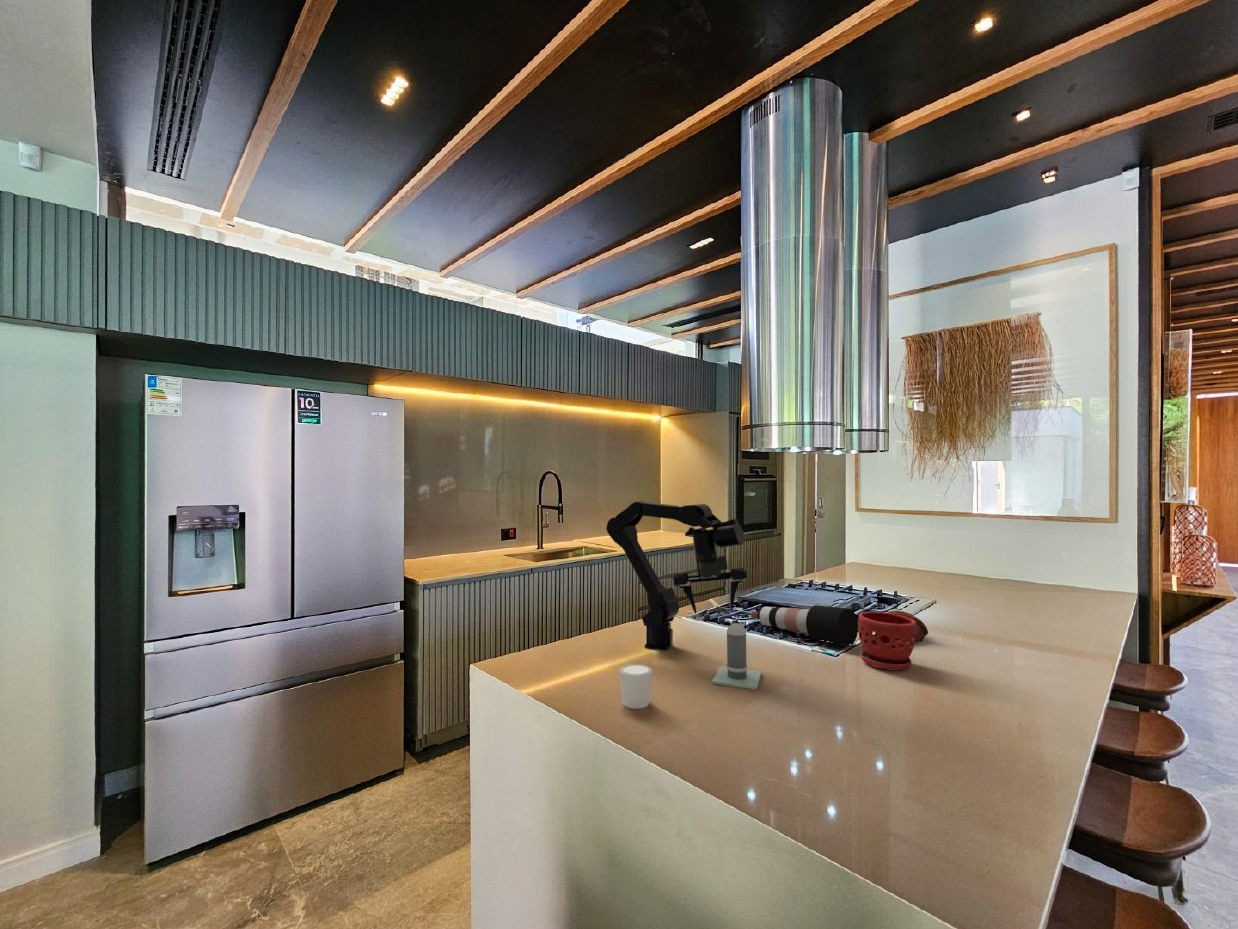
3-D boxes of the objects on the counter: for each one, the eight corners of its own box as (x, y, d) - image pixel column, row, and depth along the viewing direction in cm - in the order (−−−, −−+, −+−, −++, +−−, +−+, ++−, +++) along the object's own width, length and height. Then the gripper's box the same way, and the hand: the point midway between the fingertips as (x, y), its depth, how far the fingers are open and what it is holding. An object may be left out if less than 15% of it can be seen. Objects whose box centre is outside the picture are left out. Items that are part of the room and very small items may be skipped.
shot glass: (655, 698, 116) (655, 665, 116) (647, 712, 109) (647, 677, 109) (625, 694, 118) (625, 662, 118) (615, 707, 112) (615, 673, 112)
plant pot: (903, 678, 128) (903, 627, 128) (849, 663, 138) (848, 616, 138) (924, 665, 136) (924, 617, 137) (872, 652, 146) (871, 607, 146)
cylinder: (725, 678, 126) (724, 625, 126) (728, 671, 130) (727, 620, 130) (745, 680, 124) (745, 626, 125) (748, 673, 129) (747, 621, 129)
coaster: (712, 683, 124) (712, 680, 124) (719, 668, 134) (719, 666, 134) (756, 689, 121) (756, 686, 121) (761, 674, 130) (761, 671, 130)
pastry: (859, 630, 168) (859, 604, 168) (906, 629, 170) (906, 603, 170) (893, 647, 151) (893, 618, 151) (944, 645, 153) (944, 617, 153)
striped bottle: (758, 634, 178) (765, 604, 181) (855, 650, 151) (860, 615, 154) (739, 624, 173) (746, 594, 177) (834, 639, 146) (841, 603, 150)
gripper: (670, 550, 137) (677, 614, 132) (745, 542, 135) (755, 607, 131) (670, 556, 147) (677, 615, 143) (739, 549, 146) (748, 609, 141)
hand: (713, 611), depth 139 cm, fingers open, 9 cm apart
